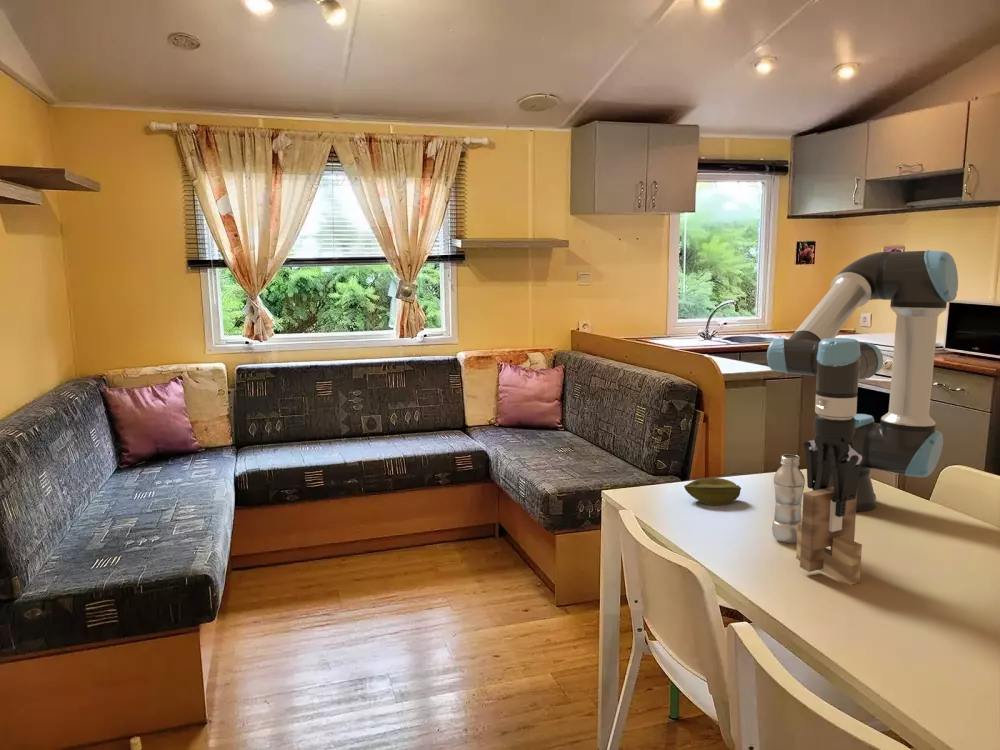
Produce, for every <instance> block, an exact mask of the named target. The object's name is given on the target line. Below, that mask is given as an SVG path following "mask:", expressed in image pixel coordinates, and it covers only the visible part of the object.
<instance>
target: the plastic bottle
mask: <svg viewBox="0 0 1000 750" xmlns="http://www.w3.org/2000/svg"><path fill="white" fill-rule="evenodd" d="M780 458H781V460H780V465H781V466H780V467H779V468H778V469H777V471H776V472H775V473H774V476H773V485H774V493H775V495H774V496H775V497H774V498H775V508H774V516H773V520H772V523H771V524H772V526H771V531H772V536H773V537H774V539H775V540H777V541H778V542H781V543H782V542H783V543H786V544H787V543H788V544H795V543H796V544H797V530H798V523H800V522H802V504H803V493H804V488H805V485H806V484H805V483H806V479H805V476H804V474H803V472H802V471H801V469H800V468H799V466H800V464H801V463H800V456H799V455H797V454H796V455H795V454H792V453H791V454H788V453H785V454H782V455H781V457H780Z"/></svg>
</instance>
